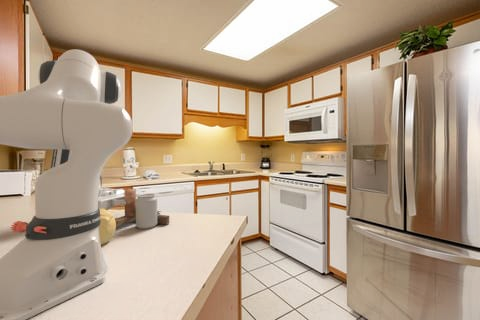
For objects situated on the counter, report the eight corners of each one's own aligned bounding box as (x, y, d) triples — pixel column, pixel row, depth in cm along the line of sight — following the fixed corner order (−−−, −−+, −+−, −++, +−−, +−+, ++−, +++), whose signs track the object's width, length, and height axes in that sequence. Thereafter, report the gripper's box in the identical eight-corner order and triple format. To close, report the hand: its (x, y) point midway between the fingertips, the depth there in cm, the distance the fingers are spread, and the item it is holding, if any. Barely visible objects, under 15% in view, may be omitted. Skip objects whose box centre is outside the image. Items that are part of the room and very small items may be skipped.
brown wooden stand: (144, 234, 77) (144, 195, 76) (106, 229, 82) (106, 193, 81) (169, 223, 89) (169, 189, 89) (134, 219, 95) (134, 187, 94)
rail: (108, 233, 79) (108, 230, 79) (103, 232, 79) (103, 229, 79) (160, 213, 105) (160, 211, 105) (156, 213, 106) (156, 210, 106)
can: (151, 230, 82) (151, 196, 82) (131, 229, 83) (131, 196, 83) (160, 223, 90) (160, 193, 90) (142, 223, 90) (141, 192, 90)
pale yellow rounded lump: (63, 253, 63) (62, 214, 63) (80, 238, 74) (80, 204, 74) (109, 249, 66) (109, 211, 66) (119, 235, 77) (119, 203, 77)
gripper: (78, 195, 84) (108, 198, 79) (123, 187, 103) (149, 189, 99) (79, 212, 84) (108, 216, 80) (123, 202, 103) (149, 204, 99)
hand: (131, 201), depth 89 cm, fingers closed on brown wooden stand, 4 cm apart
